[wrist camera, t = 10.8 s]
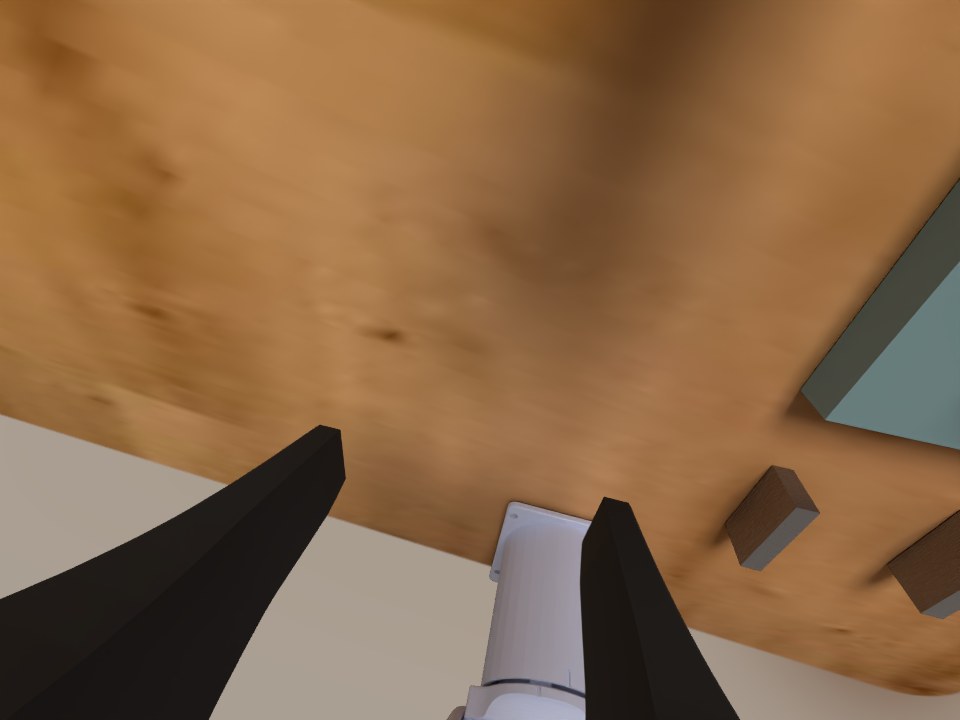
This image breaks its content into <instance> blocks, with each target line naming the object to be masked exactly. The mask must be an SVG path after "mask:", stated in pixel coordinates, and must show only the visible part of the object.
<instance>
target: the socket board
mask: <svg viewBox="0 0 960 720" xmlns="http://www.w3.org/2000/svg"><path fill="white" fill-rule="evenodd" d="M800 391H801V392H802V393H803V394H804V396H805V397H806V398H807V399H808V400H809V402H810V403H811V404H812V405H813V406H814V408H815V409H816V410H817V411H818V413H819V414H820V415H821V416H822V417H823V419H824V420H827V421H831V422H836V423H841V424H845V425H850V426H854V427H859V428H863V429H868V430H872V431H877V432H882V433H886V434H891V435H895V436H900V437H904V438H909V439H914V440H918V441H923V442H927V443H932V444H936V445H941V446H945V447H950V448H955V449H959V450H960V180H959V181H958V182H957V184H956V185H955V186H954V188H953V189H952V190H951V192H950V193H949V194H948V196H947V197H946V198H945V200H944V201H943V202H942V204H941V205H940V206H939V208H938V209H937V210H936V211H935V213H934V214H933V215H932V217H931V218H930V219H929V221H928V222H927V223H926V225H925V226H924V227H923V229H922V230H921V231H920V233H919V234H918V235H917V237H916V238H915V239H914V241H913V242H912V243H911V245H910V246H909V247H908V248H907V250H906V251H905V252H904V254H903V255H902V256H901V258H900V259H899V260H898V262H897V263H896V264H895V266H894V267H893V268H892V270H891V271H890V272H889V274H888V275H887V276H886V278H885V279H884V280H883V281H882V283H881V284H880V285H879V287H878V288H877V289H876V291H875V292H874V293H873V295H872V296H871V297H870V299H869V300H868V301H867V303H866V304H865V305H864V307H863V308H862V309H861V311H860V312H859V313H858V315H857V316H856V317H855V318H854V320H853V321H852V322H851V324H850V325H849V326H848V328H847V329H846V330H845V332H844V333H843V334H842V336H841V337H840V338H839V340H838V341H837V342H836V344H835V345H834V346H833V348H832V349H831V350H830V352H829V353H828V354H827V355H826V357H825V358H824V359H823V361H822V362H821V363H820V365H819V366H818V367H817V369H816V370H815V371H814V373H813V374H812V375H811V377H810V378H809V379H808V381H807V382H806V383H805V385H804V386H803V387H802V389H801V390H800Z"/></svg>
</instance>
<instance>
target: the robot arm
mask: <svg viewBox="0 0 960 720" xmlns="http://www.w3.org/2000/svg"><path fill="white" fill-rule="evenodd" d="M345 479H346V477H345V468H344V458H343V449H342V440H341V431H340V430H339V429H335V428H331V427H327V426H323V425H319V426H317V427H315V428H314V429H312V430H311V431H309V432H308V433H306V434H305V435H304V436H302V437H301V438H299V439H298V440H296V441H295V442H293V443H292V444H290V445H289V446H287V447H286V448H285V449H283V450H282V451H280V452H279V453H277V454H276V455H274V456H273V457H271V458H270V459H268V460H267V461H265V462H264V463H262V464H261V465H259V466H258V467H256V468H255V469H253V470H252V471H250V472H248V473H247V474H245V475H244V476H242V477H241V478H239V479H238V480H236V481H235V482H233V483H231V484H230V485H228V486H227V487H225V488H223V489H222V490H220V491H218V492H217V493H215V494H213V495H212V496H210V497H208V498H207V499H205V500H203V501H202V502H200V503H198V504H197V505H195V506H193V507H192V508H190V509H188V510H186V511H185V512H183V513H181V514H179V515H178V516H176V517H174V518H172V519H170V520H168V521H167V522H165V523H163V524H161V525H159V526H157V527H155V528H153V529H152V530H150V531H148V532H146V533H144V534H142V535H140V536H138V537H137V538H134V539H132V540H130V541H128V542H126V543H124V544H122V545H120V546H118V547H116V548H114V549H112V550H110V551H108V552H105V553H103V554H101V555H99V556H97V557H95V558H93V559H91V560H89V561H86V562H84V563H82V564H80V565H78V566H76V567H74V568H72V569H70V570H67V571H65V572H63V573H60V574H58V575H56V576H54V577H51V578H49V579H46V580H44V581H42V582H39V583H37V584H35V585H33V586H30V587H28V588H26V589H23V590H21V591H19V592H16V593H14V594H12V595H9V596H7V597H4V598H2V599H0V720H209V718H210V716H211V714H212V712H213V710H214V708H215V706H216V704H217V702H218V700H219V698H220V696H221V694H222V692H223V690H224V688H225V686H226V684H227V682H228V680H229V678H230V676H231V674H232V672H233V671H234V669H235V667H236V665H237V663H238V661H239V659H240V657H241V655H242V653H243V651H244V649H245V648H246V646H247V644H248V642H249V640H250V638H251V637H252V634H253V633H254V631H255V629H256V627H257V626H258V624H259V622H260V620H261V618H262V616H263V614H264V613H265V611H266V609H267V608H268V606H269V604H270V603H271V601H272V599H273V598H274V596H275V594H276V593H277V591H278V590H279V588H280V587H281V585H282V584H283V582H284V580H285V579H286V577H287V576H288V574H289V573H290V571H291V570H292V568H293V567H294V565H295V564H296V562H297V561H298V559H299V558H300V556H301V555H302V553H303V552H304V550H305V549H306V547H307V546H308V544H309V543H310V541H311V539H312V538H313V536H314V535H315V533H316V532H317V530H318V529H319V527H320V526H321V524H322V522H323V521H324V519H325V518H326V516H327V515H328V513H329V511H330V509H331V507H332V505H333V503H334V501H335V500H336V498H337V496H338V493H339V491H340V489H341V487H342V485H343V483H344V481H345ZM489 577H490V579H491V580H492V581H495V582H498V586H497V593H496V598H495V604H494V610H493V616H492V622H491V628H490V634H489V640H488V646H487V653H486V658H485V665H484V671H483V677H482V683H481V686H470V689H469V694H468V699H467V705H466V706H459V707H457V708H456V709H454V710H453V712H452V713H451V714H450V715H449V717H448V719H447V720H740V719H739V717H738V716H737V714H736V712H735V710H734V709H733V707H732V705H731V704H730V702H729V701H728V699H727V697H726V696H725V694H724V692H723V691H722V689H721V687H720V686H719V684H718V682H717V680H716V679H715V677H714V675H713V674H712V672H711V670H710V668H709V666H708V665H707V663H706V661H705V659H704V658H703V656H702V654H701V652H700V650H699V649H698V647H697V645H696V643H695V641H694V639H693V637H692V636H691V634H690V632H689V630H688V628H687V626H686V624H685V622H684V620H683V619H682V617H681V615H680V613H679V611H678V609H677V607H676V605H675V603H674V601H673V599H672V597H671V595H670V593H669V591H668V589H667V587H666V585H665V582H664V580H663V578H662V576H661V574H660V572H659V570H658V568H657V566H656V564H655V561H654V559H653V557H652V555H651V552H650V550H649V548H648V546H647V544H646V541H645V539H644V537H643V534H642V532H641V530H640V527H639V525H638V523H637V520H636V518H635V516H634V513H633V511H632V508H631V506H630V505H629V503H627V502H623V501H619V500H615V499H611V498H607V497H604V498H603V500H602V502H601V504H600V506H599V508H598V510H597V512H596V514H595V516H594V518H593V520H592V521H588V520H585V519H581V518H577V517H573V516H569V515H565V514H562V513H558V512H554V511H550V510H546V509H542V508H539V507H535V506H531V505H527V504H523V503H519V502H511V503H509V504H508V507H507V511H506V515H505V519H504V522H503V526H502V530H501V533H500V537H499V541H498V545H497V548H496V552H495V556H494V559H493V563H492V567H491V571H490V575H489Z"/></svg>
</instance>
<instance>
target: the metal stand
mask: <svg viewBox="0 0 960 720" xmlns="http://www.w3.org/2000/svg"><path fill="white" fill-rule="evenodd" d="M819 514H820V512H819V510H818V509H817V507H816V506H815V504H814V502H813V501H812V499H811V498H810V496H809V494H808V493H807V491H806V490H805V488H804V486H803V485H802V483H801V482H800V480H799V478H798V477H797V475H796V474H795V472H794V470H790V469H785V468H781V467H777V466H772V467H771V468H770V469H769V470H768V472H767V473H766V474H765V475H764V477H763V478H762V479H761V480H760V481H759V483H758V484H757V485H756V486H755V488H754V489H753V490H752V491H751V492H750V494H749V495H748V496H747V497H746V498H745V500H744V501H743V502H742V503H741V505H740V506H739V507H738V508H737V509H736V511H735V512H734V513H733V514H732V516H731V517H730V518H729V519H728V520H727V522H726V523H725V526H726V528H727V531H728V534H729V536H730V539H731V542H732V545H733V547H734V550H735V553H736V555H737V558H738V561H739V563H740V566H743V567H746V568H750V569H754V570H758V571H761V570H762V569H763V568H764V567H765V566H766V565H767V564H769V563H770V562H771V561H772V560H773V559H774V558H775V557H776V556H777V555H778V554H779V553H780V552H781V551H782V550H783V549H784V548H785V547H786V546H787V545H788V544H789V543H790V542H791V541H792V540H793V539H794V538H795V537H796V536H797V535H798V534H799V533H800V532H802V531H803V530H804V529H805V528H806V527H807V526H808V525H809V524H810V523H811V522H812V521H813V520H814V519H815V518H816V517H817V516H818V515H819ZM887 566H888V567H889V569H890V570H891V572H892V573H893V574H894V576H895V577H896V579H897V580H898V582H899V583H900V584H901V586H902V587H903V589H904V590H905V592H906V593H907V594H908V596H909V597H910V599H911V600H912V602H913V603H914V604H915V606H916V607H917V609H918V610H919V612H920V613H921V614H925V615H929V616H933V617H936V618H940V619H944V618H946V617H948V616H949V615H951V614H953V613H955V612H957V611H958V610H960V511H959V512H958V513H956V514H955V515H954V516H952V517H951V518H949V519H948V520H947V521H945V522H944V523H943V524H941V525H940V526H939V527H937V528H936V529H934V530H933V531H932V532H930V533H929V534H928V535H926V536H925V537H924V538H922V539H921V540H920V541H918V542H917V543H915V544H914V545H913V546H911V547H910V548H909V549H907V550H906V551H905V552H903V553H902V554H900V555H899V556H898V557H896V558H895V559H894V560H892V561H891V562H890V563H888V564H887Z"/></svg>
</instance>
